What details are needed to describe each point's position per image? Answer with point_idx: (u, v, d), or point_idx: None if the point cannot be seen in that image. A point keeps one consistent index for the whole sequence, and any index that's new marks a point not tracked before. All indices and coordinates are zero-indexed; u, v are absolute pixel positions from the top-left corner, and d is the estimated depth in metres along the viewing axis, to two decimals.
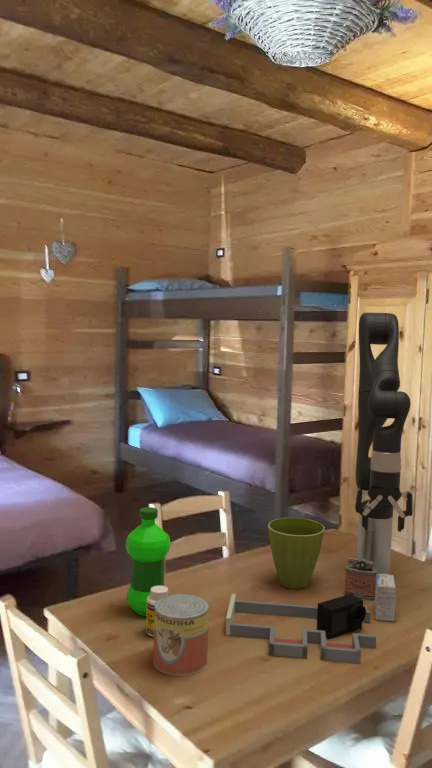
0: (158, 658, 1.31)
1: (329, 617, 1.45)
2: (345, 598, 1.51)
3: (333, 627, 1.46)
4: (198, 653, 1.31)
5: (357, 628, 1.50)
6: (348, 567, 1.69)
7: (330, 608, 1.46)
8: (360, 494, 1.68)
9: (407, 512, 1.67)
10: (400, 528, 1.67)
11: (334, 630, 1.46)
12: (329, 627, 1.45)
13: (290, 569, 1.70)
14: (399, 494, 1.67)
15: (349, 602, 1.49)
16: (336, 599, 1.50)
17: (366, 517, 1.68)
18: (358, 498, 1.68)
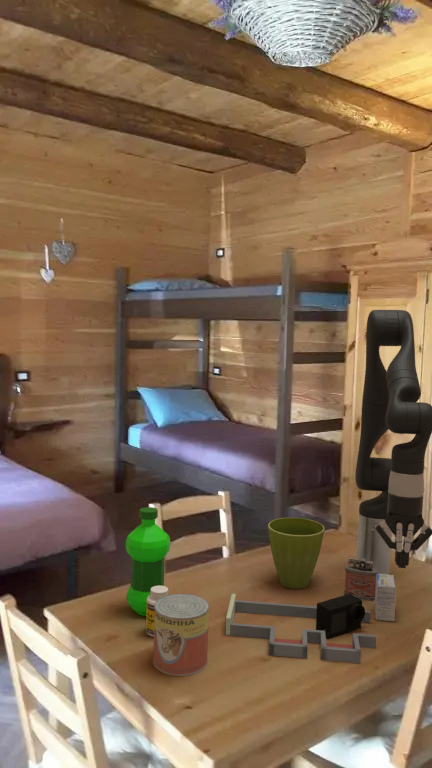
0: (158, 658, 1.31)
1: (328, 617, 1.45)
2: (344, 598, 1.51)
3: (332, 627, 1.46)
4: (198, 653, 1.31)
5: (356, 628, 1.50)
6: (348, 567, 1.69)
7: (329, 608, 1.46)
8: (380, 530, 1.45)
9: (412, 546, 1.45)
10: (404, 564, 1.45)
11: (333, 630, 1.46)
12: (329, 627, 1.46)
13: (290, 569, 1.70)
14: (421, 523, 1.44)
15: (348, 602, 1.49)
16: (335, 599, 1.51)
17: (401, 554, 1.45)
18: (382, 535, 1.45)
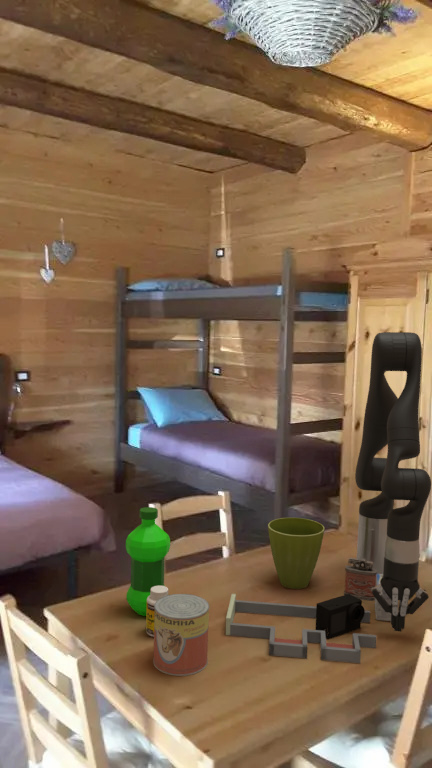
0: (158, 658, 1.31)
1: (328, 617, 1.45)
2: (344, 598, 1.51)
3: (332, 627, 1.46)
4: (198, 653, 1.31)
5: (356, 628, 1.50)
6: (348, 567, 1.69)
7: (329, 608, 1.46)
8: (376, 594, 1.47)
9: (408, 610, 1.46)
10: (400, 627, 1.47)
11: (333, 630, 1.46)
12: (329, 627, 1.45)
13: (290, 569, 1.70)
14: (417, 588, 1.45)
15: (347, 602, 1.49)
16: (335, 599, 1.50)
17: (396, 617, 1.47)
18: (378, 599, 1.47)
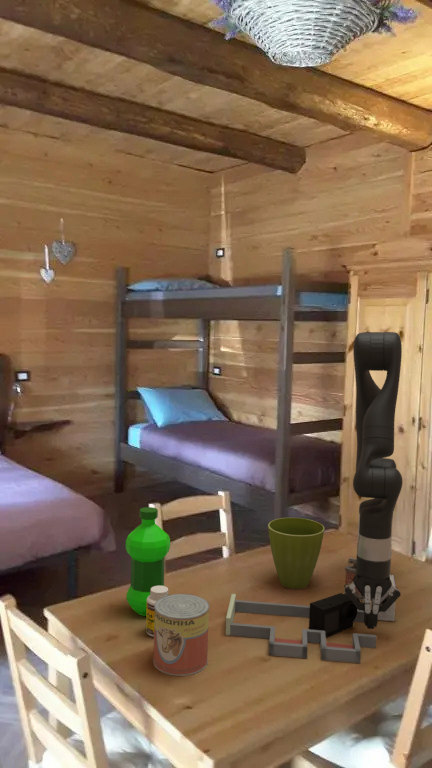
0: (158, 658, 1.31)
1: (322, 617, 1.45)
2: (337, 597, 1.51)
3: (326, 627, 1.46)
4: (198, 653, 1.31)
5: (348, 627, 1.51)
6: (348, 567, 1.69)
7: (323, 607, 1.46)
8: (349, 592, 1.47)
9: (380, 607, 1.47)
10: (372, 625, 1.47)
11: (327, 629, 1.46)
12: (322, 627, 1.45)
13: (290, 569, 1.70)
14: (389, 586, 1.46)
15: (340, 601, 1.49)
16: (327, 599, 1.50)
17: (369, 615, 1.47)
18: (350, 597, 1.47)
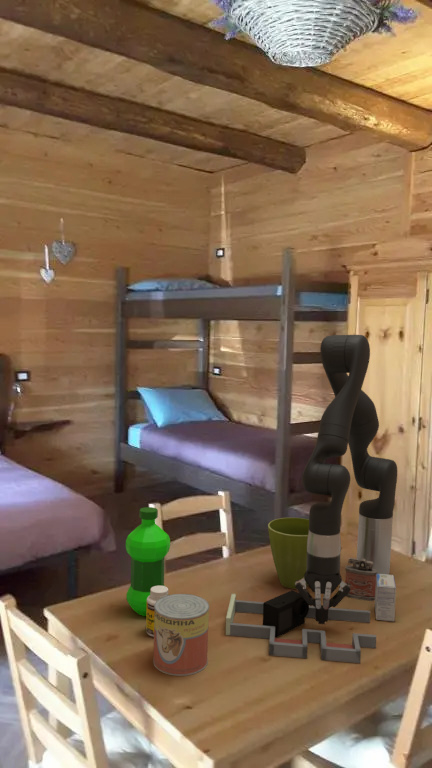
0: (158, 658, 1.31)
1: (276, 615, 1.45)
2: (288, 595, 1.52)
3: (280, 625, 1.46)
4: (198, 653, 1.31)
5: (301, 623, 1.52)
6: (348, 567, 1.69)
7: (277, 606, 1.46)
8: (300, 588, 1.49)
9: (331, 603, 1.48)
10: (323, 620, 1.49)
11: (281, 628, 1.46)
12: (277, 626, 1.45)
13: (290, 569, 1.70)
14: (339, 581, 1.48)
15: (292, 598, 1.50)
16: (280, 597, 1.51)
17: (320, 610, 1.49)
18: (301, 593, 1.49)
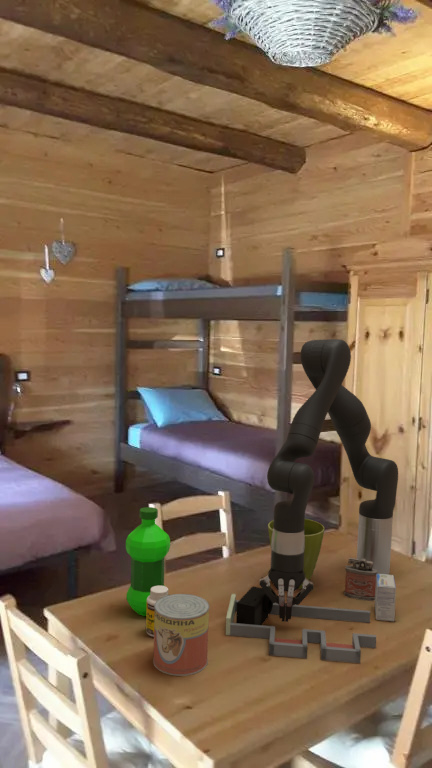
0: (158, 658, 1.31)
1: (253, 613, 1.46)
2: (254, 591, 1.54)
3: (255, 622, 1.47)
4: (198, 653, 1.31)
5: (266, 617, 1.54)
6: (348, 567, 1.69)
7: (252, 604, 1.47)
8: (263, 585, 1.50)
9: (294, 600, 1.49)
10: (287, 618, 1.50)
11: None
12: (253, 623, 1.46)
13: None
14: (302, 579, 1.48)
15: (260, 594, 1.52)
16: (248, 595, 1.52)
17: (283, 608, 1.50)
18: (265, 590, 1.50)
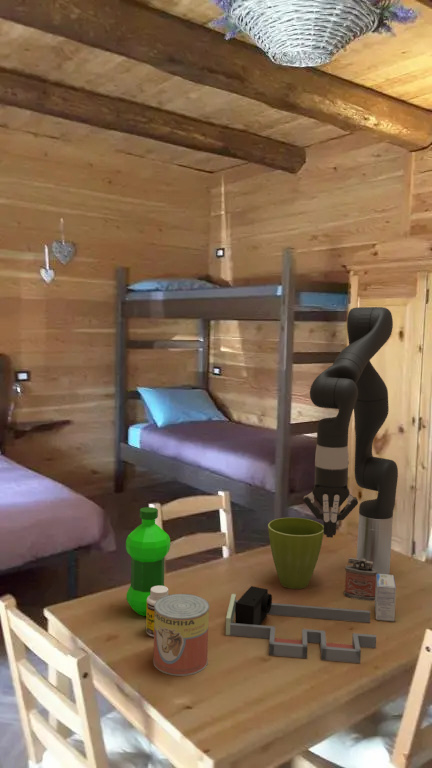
0: (158, 658, 1.31)
1: (252, 613, 1.46)
2: (252, 591, 1.54)
3: (254, 622, 1.47)
4: (198, 653, 1.31)
5: (264, 617, 1.55)
6: (348, 567, 1.69)
7: (251, 604, 1.47)
8: (308, 501, 1.51)
9: (339, 516, 1.50)
10: (331, 533, 1.51)
11: None
12: (252, 623, 1.46)
13: (290, 569, 1.70)
14: (347, 494, 1.50)
15: (259, 594, 1.52)
16: (246, 595, 1.52)
17: (328, 524, 1.51)
18: (309, 506, 1.51)
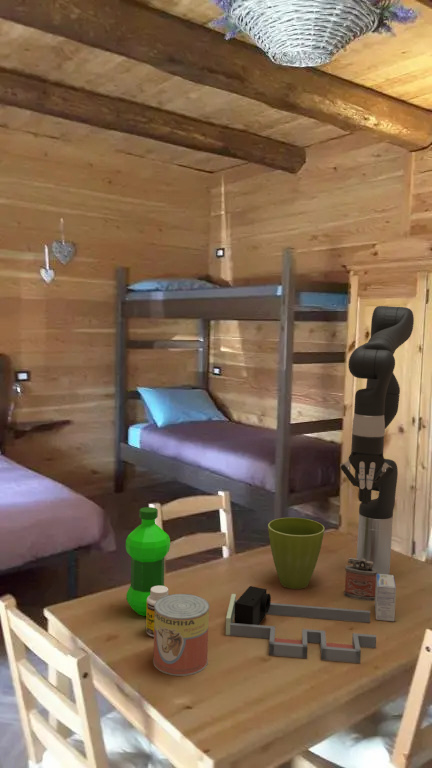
0: (158, 658, 1.31)
1: (251, 613, 1.46)
2: (251, 591, 1.54)
3: (253, 622, 1.47)
4: (198, 653, 1.31)
5: (263, 617, 1.55)
6: (348, 567, 1.69)
7: (250, 604, 1.47)
8: (345, 469, 1.57)
9: (374, 483, 1.56)
10: (367, 500, 1.57)
11: None
12: (252, 623, 1.46)
13: (290, 569, 1.70)
14: (382, 462, 1.56)
15: (258, 594, 1.52)
16: (245, 595, 1.52)
17: (363, 490, 1.57)
18: (346, 473, 1.57)
